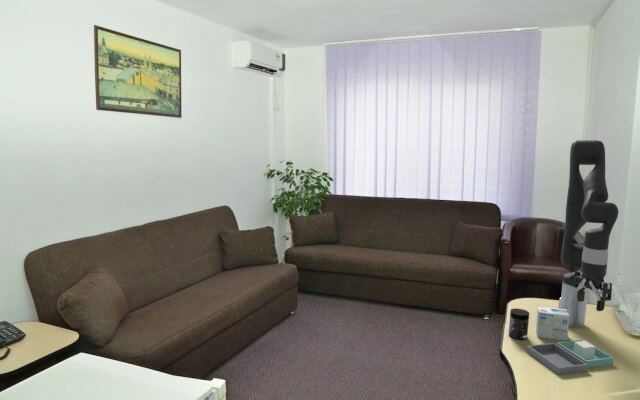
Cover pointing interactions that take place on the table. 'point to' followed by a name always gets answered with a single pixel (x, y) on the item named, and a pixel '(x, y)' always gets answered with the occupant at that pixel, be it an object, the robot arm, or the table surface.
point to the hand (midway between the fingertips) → (589, 305)
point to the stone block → (584, 350)
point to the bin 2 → (598, 360)
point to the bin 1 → (557, 359)
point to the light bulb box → (552, 323)
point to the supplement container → (518, 324)
